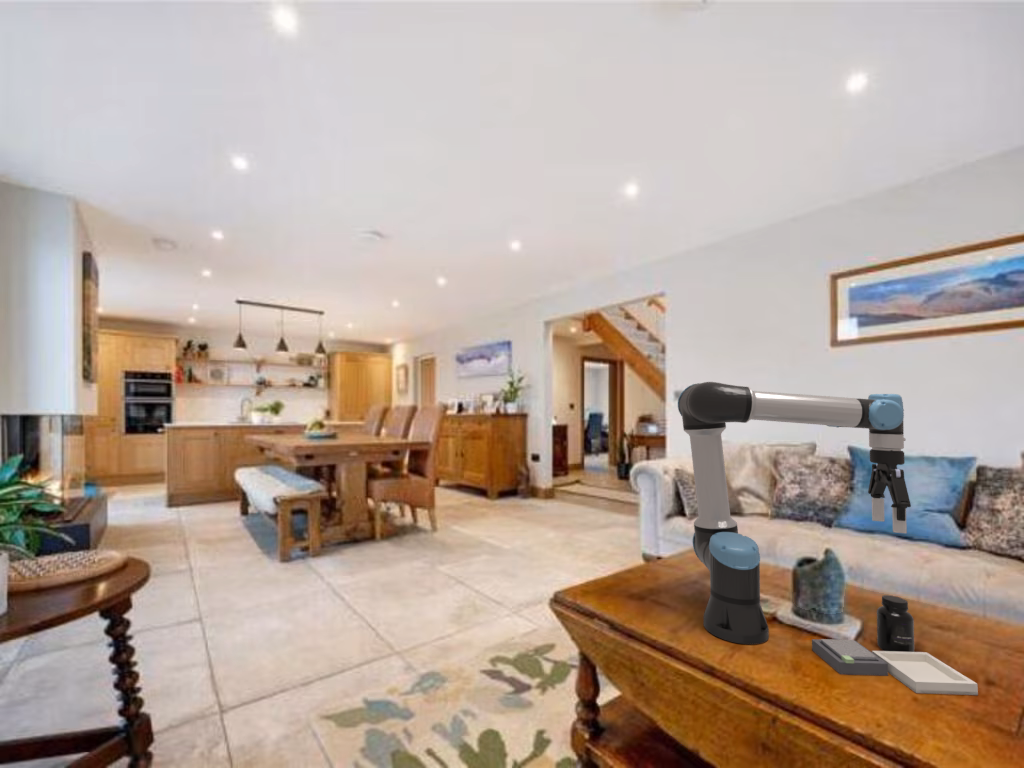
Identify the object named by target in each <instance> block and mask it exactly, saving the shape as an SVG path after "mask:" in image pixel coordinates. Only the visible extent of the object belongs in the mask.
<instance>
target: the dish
mask: <svg viewBox="0 0 1024 768" xmlns="http://www.w3.org/2000/svg"><path fill="white" fill-rule="evenodd" d="M871 652H872V653H873V654H875V655H876V656H878V657H879V658H880V659H882V660H883V661H884V662H886V663H887V664H888V674H890V675H891V676H893V677H894V678H895V679H897V680H898V681H899V682H900V683H902V684H903V685H904V686H906V687H907V688H909V690H911V691H913V692H914V693H915V694H931V695H933V694H934V695H936V694H937V695H965V696H966V695H967V696H978V695H979V692H978V691H979V688H978V686H979V685H978V683H977V682H975V681H974V680H972V679H971V678H969V677H967V676H966V675H963V674H962V673H961V672H959V671H958V670H956V669H954V668H953V667H951V666H949V665H948V664H946V663H944V662H943V661H941V660H940V659H938V658H937V657H935V656H933V655H932V654H930V653H929V652H925V651H914V652H898V651H884V650H871Z"/></svg>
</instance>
